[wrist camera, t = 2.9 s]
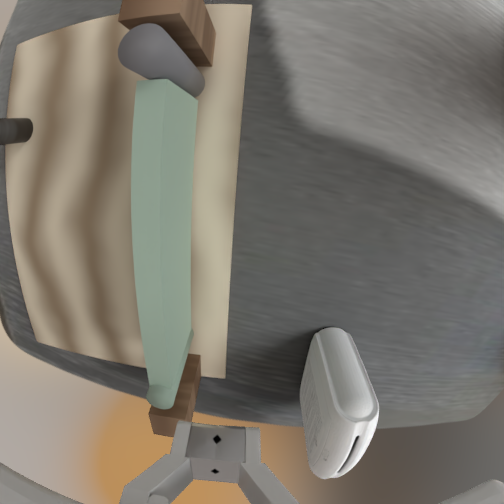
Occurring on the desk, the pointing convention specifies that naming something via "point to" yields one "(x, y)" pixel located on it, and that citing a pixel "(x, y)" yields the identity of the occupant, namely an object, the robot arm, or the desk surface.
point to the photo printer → (336, 404)
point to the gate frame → (119, 184)
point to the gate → (162, 201)
